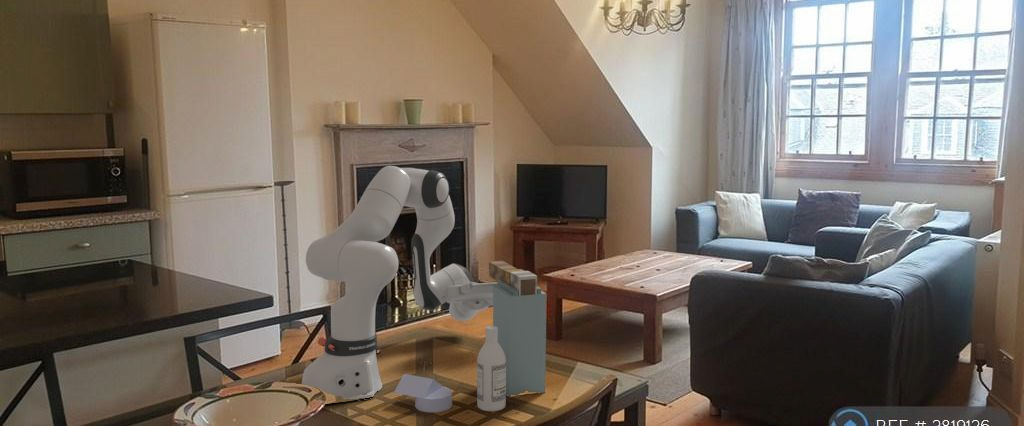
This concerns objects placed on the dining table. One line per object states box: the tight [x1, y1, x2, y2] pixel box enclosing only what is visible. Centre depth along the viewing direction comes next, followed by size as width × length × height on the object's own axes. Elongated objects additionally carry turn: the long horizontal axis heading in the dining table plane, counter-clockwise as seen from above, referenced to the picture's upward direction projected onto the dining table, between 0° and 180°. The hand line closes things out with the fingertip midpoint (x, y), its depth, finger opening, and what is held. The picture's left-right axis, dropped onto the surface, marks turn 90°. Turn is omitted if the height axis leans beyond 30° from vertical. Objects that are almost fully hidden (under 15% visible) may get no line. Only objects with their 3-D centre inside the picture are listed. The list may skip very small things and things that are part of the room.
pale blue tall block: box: [492, 280, 547, 397], centre depth 203 cm, size 12×10×27 cm
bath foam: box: [476, 325, 507, 413], centre depth 190 cm, size 7×7×20 cm
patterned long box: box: [488, 260, 538, 296], centre depth 207 cm, size 24×5×5 cm, turn 21°
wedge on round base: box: [393, 373, 453, 413], centre depth 193 cm, size 9×7×13 cm
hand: (485, 284), depth 227 cm, fingers open, 8 cm apart
